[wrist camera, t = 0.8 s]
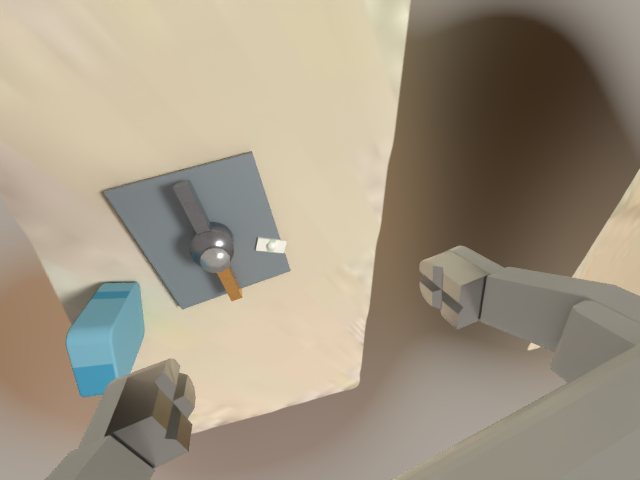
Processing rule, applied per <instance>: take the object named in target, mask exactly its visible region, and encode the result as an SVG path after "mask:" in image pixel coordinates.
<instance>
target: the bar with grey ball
mask: <svg viewBox="0 0 640 480" xmlns="http://www.w3.org/2000/svg"><path fill="white" fill-rule="evenodd" d="M173 189H174V191H175V193H176V195H177V197H178V199H179V201H180V203H181V204H182V206H183V208H184V210H185V212H186V214H187V216H188V218H189V220H190V222H191V224H192V226H193V228H194V230H195V232H194V234H193V238H192V241H191V244H190V248H189V252H190V256H191V258H192V260H193V261H194V262H195V263H196V264H197V265H199V266H201V267H202V268H203V269H204V270H206V271H208V272H211V273H217V274H218V276H219V278H220V280H221V282H222V284H223V286H224V288H225V289H226V291H227V293H228V295H229V297H230V299H231V301H234V300H237V299H239V298H242V288H241V286H240V284H239V282H238V280H237V278H236V276H235V274H234V272H233V269H232V267H231V265H230V261H231V259H232V257H233V255H234V237H233V234H232V232H231V230H230V229H229V228H228V227H227V226H225V225H224V224H221V223H218V222H210V221H209V219H208V217H207V214H206V212H205V210H204V208H203V206H202V204H201V202H200V200H199V198H198V195H197V193H196V191H195V189H194V187H193V185H192V183H191V181H190V179H189V180H186V181H182V182H178V183H176V184H175V185H174V187H173Z"/></svg>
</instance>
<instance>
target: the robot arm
mask: <svg viewBox="0 0 640 480" xmlns="http://www.w3.org/2000/svg"><path fill="white" fill-rule="evenodd" d="M420 272H421V273H422V274H423V277H422V278H421V280H420V290H421V292H422V294H423V296H424V298H425V299H426V301H427V302H428V303H429V304H430V305H431V306H433V307H436V308H439V309H441V315H442V316H443V317H444V318H445V319H446V320H447V321H448V322H449V323H450V324H452V325H453V326H454V327H455V328H456V329H459V328H462V327H464V326H467V325H469V324H471V323H474V322H476V321H479V320H480V322H483V323H485V324H487V325H490V326H492V327H495V328H497V329H500V330H502V331H505V332H507V333H510V334H512V335H515V336H517V337H519V338H522V339H524V340H527V341H529V342H532V343H534V344H536V345H539V346H541V347H544V348H546V349H549V350H551V351H554V352H555V353H554V355H553V358H552V360H551V363H550V367H551V370H552V371H554V372H555V373H556V374H557V375H559V376H560V377H561V378H563V379H564V380H565V381H566V382H567V384H565V385H563V386H561V387H559V388H558V389H556V390H554V391H552V392H550V393H549V394H547V395H545V396H543V397H541V398H539V399H538V400H536V401H534V402H532V403H531V404H528V405H527V406H525V407H523V408H521V409H519V410H517V411H516V412H514V413H512V414H510V415H508V416H507V417H505V418H503V419H501V420H499V421H497V422H496V423H494V424H492V425H490V426H488V427H487V428H485V429H483V430H481V431H479V432H478V433H476V434H474V435H472V436H470V437H468V438H467V439H465V440H463V441H461V442H459V443H457V444H456V445H454V446H452V447H450V448H448V449H447V450H445V451H443V452H441V453H439V454H437V455H436V456H434V457H432V458H430V459H428V460H427V461H425V462H423V463H421V464H419V465H417V466H416V467H414V468H412V469H410V470H408V471H407V472H405V473H403V474H401V475H399V476H397V477H396V478H394V479H392V480H640V296H638V295H636V294H634V293H631V292H629V291H627V290H625V289H622V288H620V287H618V286H615V285H612V284H606V283H600V282H594V281H589V280H583V279H577V278H571V277H565V276H559V275H554V274H547V273H542V272H536V271H531V270H524V269H519V268H513V267H507V268H503V267H501V266H499V265H498V264H496V263H494V262H492V261H490V260H488V259H487V258H485V257H483V256H481V255H479V254H478V253H476V252H474V251H472V250H470V249H468V248H466V247H465V246H457V247H455V248H452V249H450V250H447V251H446V252H443V253H440V254H438V255H436V256H433V257H431V258H428V259H425V260H423V261H421V263H420ZM179 369H180V365H179V364H178V363H177V361H176V360H175V359H168V360H165V361H162V362H160V363H157V364H154V365H151V366H149V367H146V368H143V369H140V370H138V371H135V372H133V373H131V374H128V375H125V376H122V377H119V378H117V379H114V380H113V381H111V382H110V383H109V384H108V385H107V387H106V389H105V391H104V394H103V396H102V398H101V400H100V402H99V404H98V406H97V408H96V411H95V413H94V415H93V417H92V419H91V422H90V424H89V426H88V428H87V430H86V432H85V434H84V436H83V438H82V441H81V443H80V445H79V447H78V449H75V450H73V451H71V452H70V453H69V454H68V455H67V456H66V457H65V458H64V459H63V460H62V461H61V463H60V464H59V465H58V466H57V467H56V468H55V469H54V470H53V471H52V473H51V474H50V475H49V476H48V477H47V478H46V479H45V480H150V479H151V477H152V475H153V473H154V471H155V470H154V468H156V467H158V466H161V465H163V464H165V463H166V462H169V461H171V460H173V459H175V458H177V457H179V456H181V455H183V454H185V453H187V452H189V446H190V437H191V431H192V424H191V422H190V421H189V420H188V417H189V416H190V414H191V413H192V411H193V409H194V407H195V390H194V385H193V383H192V381H191V379H190V378H189V376H188V375H186V374H182V373H179Z"/></svg>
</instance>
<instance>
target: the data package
mask: <svg viewBox="0 0 640 480" xmlns="http://www.w3.org/2000/svg"><path fill="white" fill-rule="evenodd" d="M143 337H144V320H143V311H142V302H141V293H140V286H139V284H138V283H137V282H131V283H103V284H102V285H101V286H100V288H99V289H98V290H97V292H96V293H95V294H94V296H93V297H92V299H91V300H90V301H89V303H88V304H87V305H86V307H85V308H84V310H83V311H82V312H81V314H80V315H79V316H78V318H77V319H76V321H75V322H74V323H73V325H72V326H71V328H70V329H69V331H68V333H67V336H66V348H67V351H68V355H69V358H70V361H71V365H72V369H73V372H74V376H75V379H76V382H77V386H78V389H79V393H80V395H81V396H82V397H89V396H96V395H102V394H104V391H105V389H106V387H107V385H108V384H109V383H110V382H111V381H113V380H114V379H117V378H119V377H122V376H125V375H128V374H130V372H131V370H132V367H133V364H134V362H135V359H136V356H137V354H138V351H139V348H140V346H141V343H142V340H143Z"/></svg>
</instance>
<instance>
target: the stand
mask: <svg viewBox="0 0 640 480" xmlns="http://www.w3.org/2000/svg"><path fill="white" fill-rule="evenodd" d="M189 179H190V181H191V183H192V185H193V187H194V189H195V191H196V193H197V195H198V198H199V200H200V202H201V204H202V206H203V208H204V210H205V212H206V214H207V217H208V219H209V221H210V222H218V223H221V224H224V225H225V226H227V227H228V228H229V229H230V230H231V232H232V234H233V237H234V255H233V257H232V259H231V261H230V265H231V267H232V269H233V272H234V274H235V276H236V278H237V280H238V282H239V284H240V286H241V288H244V287H246V286H249V285H252V284H255V283H258V282H260V281H263V280H266V279H269V278H272V277H274V276H277V275H280V274H283V273H286V272H289V271H290V268H289V265H288V261H287V258H286V255H285V252H284V251H285V247H286V243H287V240H280V237H279V234H278V231H277V228H276V225H275V221H274V218H273V215H272V212H271V209H270V206H269V203H268V200H267V197H266V194H265V191H264V188H263V184H262V181H261V178H260V175H259V172H258V169H257V166H256V163H255V160H254V157H253V154H252V151H251V152H247V153H243V154H240V155H236V156H232V157H228V158H224V159H220V160H217V161H213V162H209V163H205V164H201V165H198V166H194V167H190V168H186V169H182V170H179V171H175V172H171V173H167V174H163V175H160V176H156V177H152V178H148V179H144V180H141V181H137V182H133V183H129V184H125V185H122V186H118V187H114V188H110V189H107V190H106V191H104V194H105V195H106V197H107V198H108V200H109V201H110V203H111V204H112V206H113V207H114V209H115V210H116V212H117V213H118V215H119V216H120V218H121V219H122V221H123V222H124V224H125V225H126V227H127V228H128V230H129V231H130V233H131V234H132V235H133V237H134V238H135V240H136V241H137V243H138V244H139V246H140V247H141V249H142V250H143V252H144V253H145V255H146V256H147V258H148V259H149V261H150V262H151V264H152V265H153V267H154V268H155V270H156V271H157V273H158V274H159V276H160V277H161V279H162V280H163V282H164V283H165V285H166V286H167V288H168V289H169V291H170V292H171V294H172V295H173V297H174V298H175V299H176V301H177V302H178V304H179V305H180V307H181V308H182V309H185V308H188V307H190V306H193V305H196V304H199V303H202V302H204V301H207V300H210V299H213V298H216V297H218V296H221V295H224V294H227V291H226V289H225V288H224V286H223V284H222V282H221V280H220V278H219V276H218V274H217V273H211V272H208V271H206V270H204V269H203V268H202V267H201V266H199V265H197V264H196V263H195V262H194V261H193V260H192V258H191V256H190V252H189V248H190V244H191V241H192V238H193V234H194V232H195V230H194V228H193V226H192V224H191V222H190V220H189V218H188V216H187V214H186V212H185V210H184V208H183V206H182V204H181V203H180V201H179V199H178V197H177V195H176V193H175V191H174V189H173V187H174V185H175V184H176V183H178V182H182V181H186V180H189Z"/></svg>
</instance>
